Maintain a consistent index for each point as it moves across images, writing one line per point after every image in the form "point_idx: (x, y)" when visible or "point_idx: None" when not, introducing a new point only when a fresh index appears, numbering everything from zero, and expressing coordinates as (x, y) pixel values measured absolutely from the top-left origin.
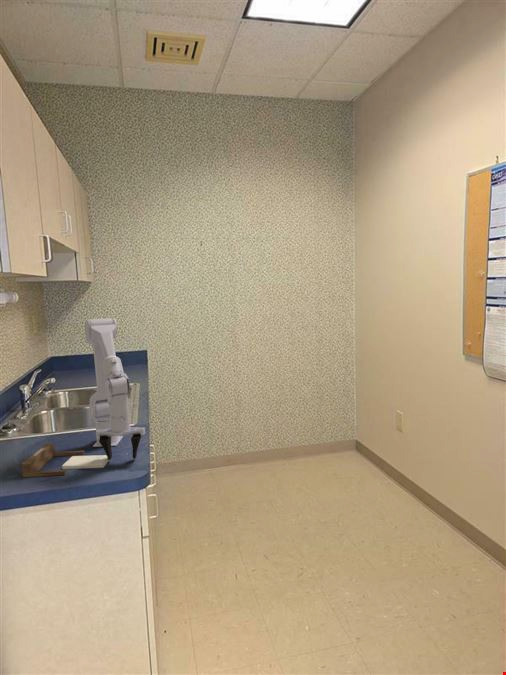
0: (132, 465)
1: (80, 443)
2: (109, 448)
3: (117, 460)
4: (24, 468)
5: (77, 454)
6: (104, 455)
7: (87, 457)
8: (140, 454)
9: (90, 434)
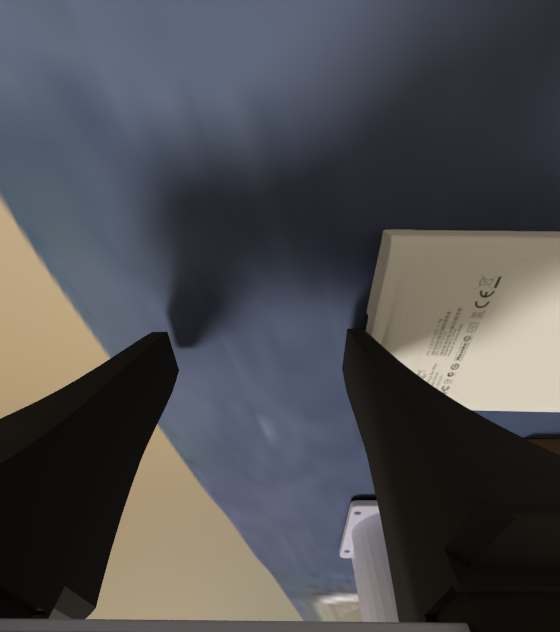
0: (143, 247)
1: None
2: (375, 416)
3: (300, 350)
4: None
5: (558, 442)
6: None
7: (522, 383)
8: (183, 413)
9: None
